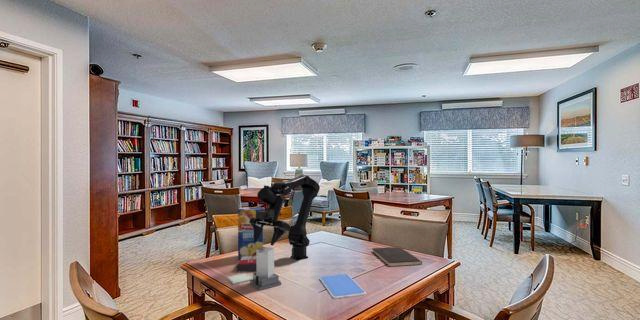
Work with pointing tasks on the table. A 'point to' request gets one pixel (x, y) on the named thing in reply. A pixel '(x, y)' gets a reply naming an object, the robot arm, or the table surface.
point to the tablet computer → (342, 286)
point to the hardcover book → (396, 256)
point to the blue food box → (247, 233)
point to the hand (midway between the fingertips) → (263, 243)
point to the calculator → (247, 264)
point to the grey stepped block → (265, 261)
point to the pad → (239, 278)
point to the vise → (265, 281)
